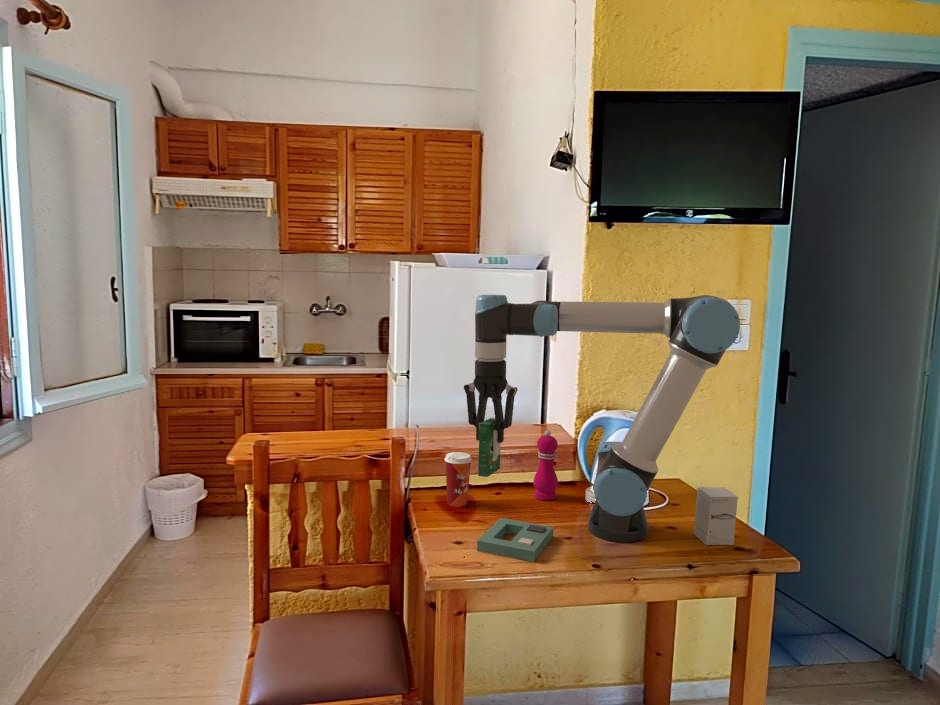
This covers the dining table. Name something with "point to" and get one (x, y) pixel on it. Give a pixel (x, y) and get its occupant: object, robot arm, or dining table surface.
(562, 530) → the dining table surface
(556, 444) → the pepper mill
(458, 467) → the paper cup
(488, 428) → the coffee box
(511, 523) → the socket board
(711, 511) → the supplement box
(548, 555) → the dining table surface
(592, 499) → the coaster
